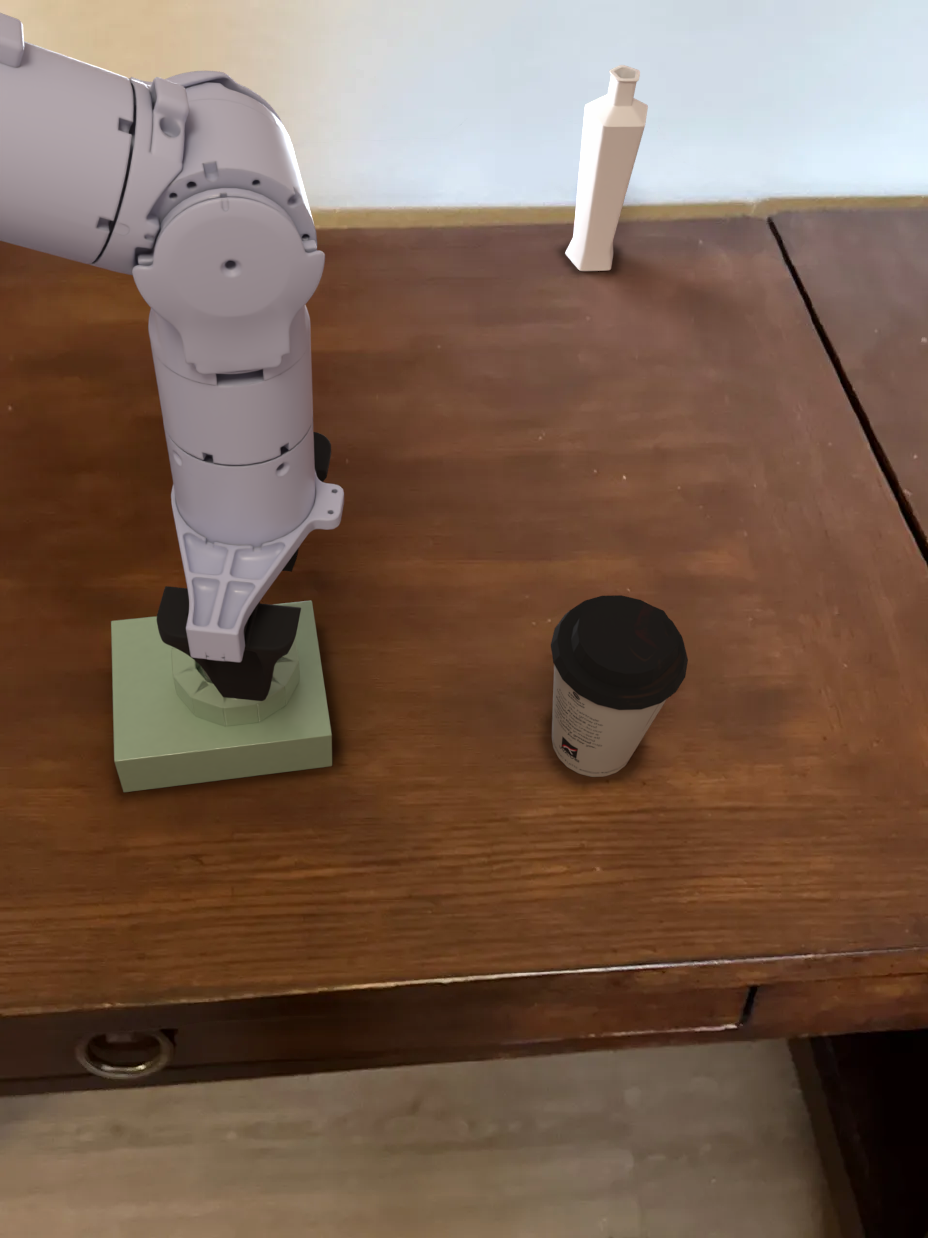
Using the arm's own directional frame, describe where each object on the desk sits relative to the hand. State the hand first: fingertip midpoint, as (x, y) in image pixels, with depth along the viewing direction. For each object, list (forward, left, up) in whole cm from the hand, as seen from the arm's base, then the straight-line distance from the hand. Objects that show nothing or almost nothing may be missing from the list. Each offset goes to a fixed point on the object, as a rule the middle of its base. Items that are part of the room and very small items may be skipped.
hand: (258, 626), depth 58 cm
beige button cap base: (-2, +3, -11) cm, 11 cm away
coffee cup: (+18, -2, -11) cm, 21 cm away
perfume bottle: (+29, +41, -11) cm, 51 cm away
